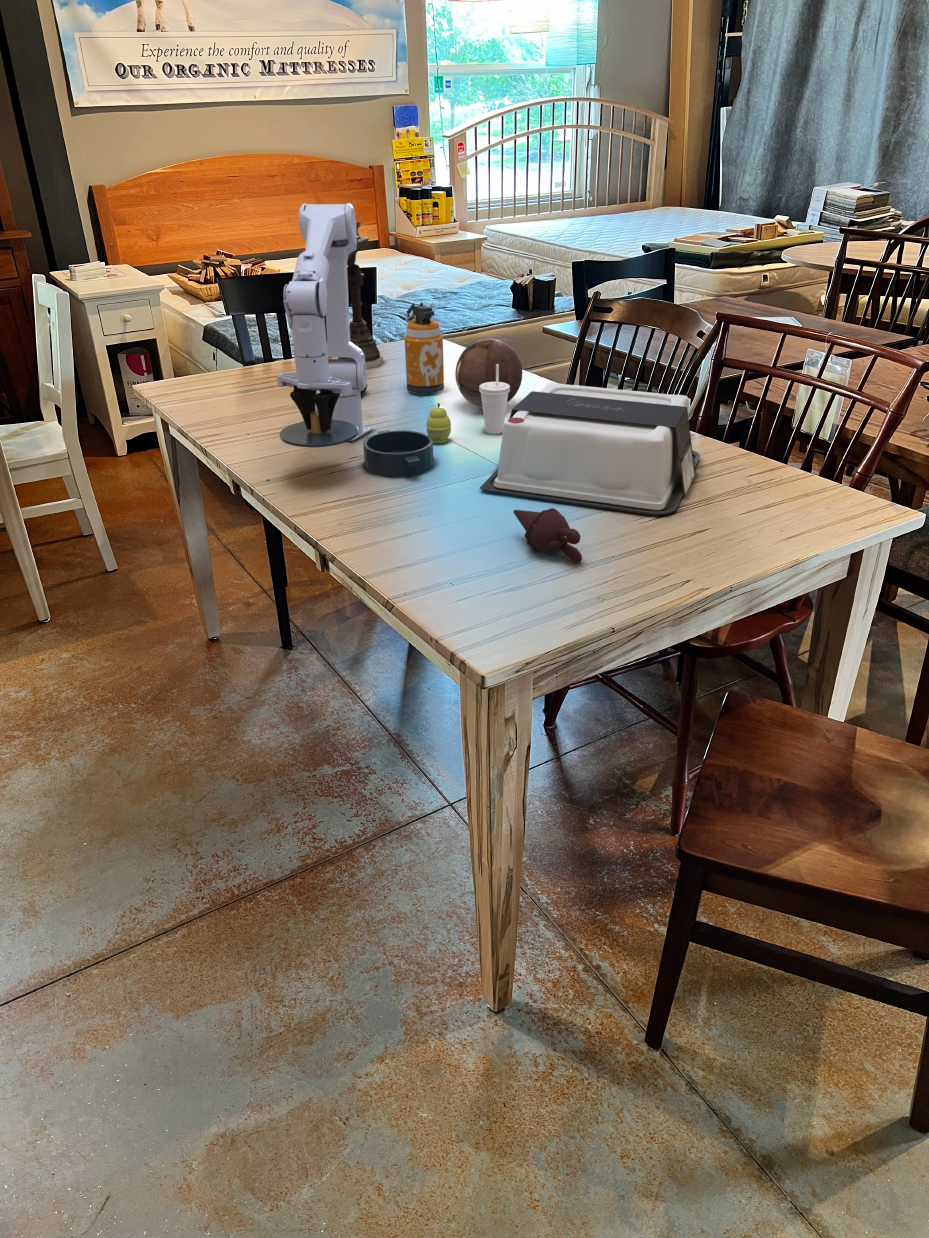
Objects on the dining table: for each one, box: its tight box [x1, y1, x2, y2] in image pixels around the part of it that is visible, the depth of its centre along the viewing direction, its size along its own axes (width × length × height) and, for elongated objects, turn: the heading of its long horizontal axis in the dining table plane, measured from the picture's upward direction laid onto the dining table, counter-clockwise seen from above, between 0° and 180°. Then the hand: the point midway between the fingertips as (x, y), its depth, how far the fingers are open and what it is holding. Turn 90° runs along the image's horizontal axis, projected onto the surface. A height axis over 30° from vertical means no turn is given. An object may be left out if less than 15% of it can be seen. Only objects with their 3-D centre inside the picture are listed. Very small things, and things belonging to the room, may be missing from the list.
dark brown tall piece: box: [337, 221, 384, 369], centre depth 221 cm, size 17×13×35 cm
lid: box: [279, 411, 358, 448], centre depth 158 cm, size 14×14×4 cm
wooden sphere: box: [454, 338, 523, 409], centre depth 194 cm, size 15×15×15 cm
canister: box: [404, 302, 445, 396], centre depth 205 cm, size 9×11×20 cm
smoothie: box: [479, 364, 510, 435], centre depth 180 cm, size 6×6×14 cm
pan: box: [362, 429, 434, 478], centre depth 166 cm, size 13×19×4 cm
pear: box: [425, 402, 452, 445], centre depth 177 cm, size 5×5×8 cm
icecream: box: [512, 507, 583, 564], centre depth 133 cm, size 7×7×15 cm
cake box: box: [479, 382, 701, 516], centre depth 159 cm, size 35×33×12 cm
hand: (318, 429), depth 158 cm, fingers closed on lid, 2 cm apart
